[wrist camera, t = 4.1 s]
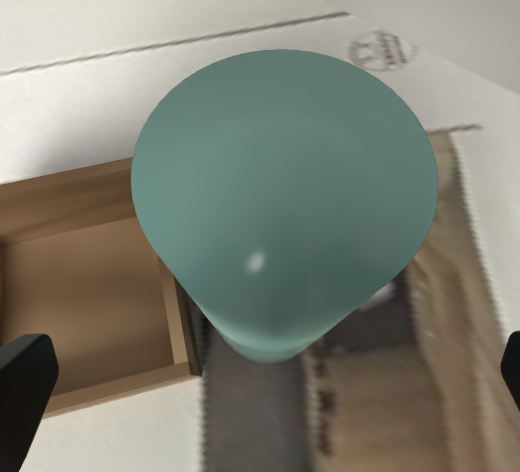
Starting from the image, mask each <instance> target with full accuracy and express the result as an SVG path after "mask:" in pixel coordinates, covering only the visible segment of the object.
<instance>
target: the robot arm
mask: <svg viewBox="0 0 520 472" xmlns="http://www.w3.org/2000/svg"><path fill="white" fill-rule="evenodd" d="M501 373H502V376H503V379H504V381H505V383H506V385H507V387H508V389H509V391H510V393H511V395H512V397H513V399H514V401H515V403H516V405H517V407H518V409H519V411H520V331H515V332H513V333H512V334H511V335H510V337H509V339H508V342H507V346H506V349H505V352H504V355H503V358H502V361H501ZM58 376H59V364H58V361H57V357H56V353H55V350H54V346H53V343H52V340H51V338H50V336H49V335H47V334H24V335H22V336H20V337H18V338H16V339H15V340H13V341H11V342H9V343H7V344H5V345H3V346H1V347H0V472H19V470H20V468H21V466H22V464H23V462H24V460H25V458H26V456H27V454H28V451H29V449H30V447H31V444H32V442H33V440H34V437H35V435H36V432H37V430H38V427H39V425H40V422H41V420H42V417H43V415H44V412H45V410H46V407H47V405H48V402H49V400H50V397H51V395H52V392H53V390H54V387H55V385H56V382H57V380H58Z"/></svg>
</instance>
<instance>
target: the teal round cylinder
mask: <svg viewBox="0 0 520 472" xmlns="http://www.w3.org/2000/svg"><path fill="white" fill-rule="evenodd" d="M131 188H132V199H133V203H134V207H135V211H136V215H137V218H138V220H139V223H140V225H141V227H142V230H143V232H144V234H145V236H146V237H147V239H148V241H149V242H150V244H151V246H152V247H153V249H154V251H155V252H156V253H157V254H158V256H159V257H160V258H161V259H162V261H163V262H164V263H165V265H166V266H167V267H168V268H169V270H170V271H171V272H172V274H173V275H174V276H175V277H176V279H177V280H178V281H179V283H180V284H181V285H182V286H183V288H184V289H185V290H186V292H187V293H188V294H189V295H190V297H191V298H192V299H193V301H194V302H195V303H196V304H197V306H198V307H199V308H200V309H201V311H202V312H203V313H204V315H205V316H206V317H207V318H208V320H209V321H210V322H211V324H212V325H213V326H214V327H215V329H216V330H217V331H218V333H219V334H220V335H221V336H222V338H223V339H224V340H225V342H226V343H227V344H228V345H229V346H230V348H232V349H233V350H234V351H235V352H236V353H237V354H239V355H240V356H242V357H244V358H246V359H248V360H250V361H253V362H257V363H262V364H275V363H281V362H284V361H287V360H290V359H292V358H294V357H296V356H297V355H299V354H300V353H301V352H303V351H304V350H305V349H306V348H308V347H309V346H310V345H311V344H313V343H314V342H315V341H316V340H318V339H319V338H320V337H321V336H323V335H324V334H325V333H326V332H328V331H329V330H330V329H331V328H333V327H334V326H335V325H336V324H338V323H339V322H340V321H341V320H343V319H344V318H345V317H346V316H347V315H349V314H350V313H351V312H352V311H354V310H355V309H356V308H357V307H359V306H360V305H361V304H362V303H364V302H365V301H366V300H367V299H369V298H370V297H371V296H372V295H374V294H375V293H376V292H377V291H379V290H380V289H381V288H382V287H384V286H385V285H386V284H387V283H388V282H390V281H391V280H392V279H393V278H394V277H395V276H396V275H397V274H399V273H400V272H401V271H402V270H403V269H404V268H405V267H406V266H407V265H408V263H409V262H410V261H411V259H412V258H413V257H414V256H415V254H416V253H417V252H418V250H419V249H420V247H421V245H422V243H423V241H424V240H425V238H426V236H427V234H428V232H429V229H430V226H431V223H432V221H433V218H434V215H435V210H436V204H437V198H438V174H437V167H436V161H435V157H434V154H433V150H432V147H431V144H430V142H429V139H428V137H427V135H426V133H425V130H424V129H423V127H422V125H421V124H420V122H419V120H418V119H417V117H416V116H415V114H414V113H413V112H412V110H411V109H410V108H409V107H408V106H407V104H406V103H405V102H404V101H403V100H402V99H401V98H400V97H399V96H398V95H397V94H396V93H395V92H394V91H393V90H392V89H391V88H389V87H388V86H387V85H385V84H384V83H383V82H381V81H380V80H379V79H377V78H376V77H374V76H372V75H371V74H369V73H368V72H366V71H364V70H362V69H360V68H358V67H356V66H354V65H352V64H350V63H347V62H345V61H342V60H339V59H336V58H333V57H330V56H326V55H322V54H318V53H313V52H306V51H299V50H263V51H256V52H249V53H244V54H240V55H236V56H232V57H229V58H226V59H223V60H221V61H218V62H215V63H213V64H211V65H209V66H207V67H205V68H203V69H201V70H199V71H197V72H195V73H194V74H192V75H191V76H189V77H188V78H186V79H184V80H183V81H182V82H181V83H180V84H178V85H177V86H176V87H175V88H173V89H172V90H171V91H170V92H169V93H168V94H167V95H166V96H165V97H164V98H163V99H162V100H161V101H160V103H159V104H158V105H157V107H156V108H155V109H154V111H153V112H152V113H151V115H150V116H149V118H148V120H147V122H146V123H145V125H144V127H143V129H142V131H141V133H140V136H139V139H138V141H137V144H136V147H135V151H134V156H133V161H132V170H131Z"/></svg>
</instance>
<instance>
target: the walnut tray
mask: <svg viewBox="0 0 520 472" xmlns="http://www.w3.org/2000/svg"><path fill="white" fill-rule="evenodd" d="M132 161H133V157H132V158H127V159H122V160H118V161H113V162H108V163H103V164H99V165H94V166H89V167H84V168H79V169H75V170H70V171H65V172H60V173H55V174H51V175H46V176H41V177H36V178H32V179H27V180H22V181H17V182H12V183H8V184H3V185H0V347H1V346H3V345H5V344H7V343H9V342H11V341H13V340H15V339H16V338H18V337H20V336H22V335H24V334H47V335H49V336H50V338H51V340H52V343H53V346H54V350H55V353H56V357H57V361H58V364H59V376H58V380H57V382H56V385H55V387H54V390H53V392H52V395H51V397H50V400H49V402H48V405H47V407H46V410H45V412H44V415H43V417H42V419H45V418H49V417H53V416H57V415H60V414H64V413H68V412H72V411H75V410H79V409H83V408H87V407H90V406H94V405H98V404H101V403H105V402H109V401H113V400H116V399H120V398H124V397H128V396H131V395H135V394H139V393H143V392H146V391H150V390H154V389H158V388H161V387H165V386H169V385H173V384H176V383H180V382H184V381H188V380H191V379H195V378H199V377H202V374H201V369H200V363H199V358H198V352H197V347H196V341H195V336H194V330H193V325H192V319H191V314H190V309H189V303H188V298H187V292H186V290H185V289H184V288H183V286H182V285H181V284H180V283H179V281H178V280H177V279H176V277H175V276H174V275H173V274H172V272H171V271H170V270H169V268H168V267H167V266H166V265H165V263H164V262H163V261H162V259H161V258H160V257H159V256H158V254H157V253H156V252H155V251H154V249H153V247H152V246H151V244H150V242H149V241H148V239H147V237H146V236H145V234H144V232H143V230H142V227H141V225H140V223H139V220H138V218H137V215H136V211H135V207H134V203H133V199H132V188H131V170H132Z"/></svg>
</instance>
